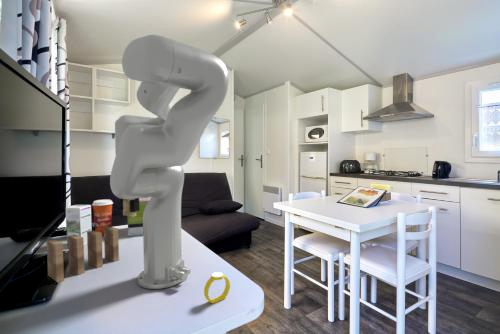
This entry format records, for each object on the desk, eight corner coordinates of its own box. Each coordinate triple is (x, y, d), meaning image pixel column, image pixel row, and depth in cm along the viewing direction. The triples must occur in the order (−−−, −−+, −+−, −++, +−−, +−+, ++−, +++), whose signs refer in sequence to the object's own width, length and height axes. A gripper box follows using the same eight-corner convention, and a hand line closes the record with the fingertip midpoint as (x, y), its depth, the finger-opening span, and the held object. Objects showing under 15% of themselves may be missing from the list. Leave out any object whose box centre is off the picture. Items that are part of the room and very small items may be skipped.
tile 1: (118, 260, 79) (118, 228, 78) (113, 261, 77) (113, 229, 77) (109, 256, 81) (108, 226, 81) (104, 258, 80) (103, 227, 79)
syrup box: (92, 241, 96) (91, 204, 95) (80, 247, 90) (79, 207, 89) (79, 241, 96) (77, 204, 96) (66, 246, 91) (65, 207, 90)
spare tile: (136, 215, 84) (135, 186, 83) (132, 216, 83) (131, 186, 82) (127, 214, 86) (126, 185, 86) (123, 215, 85) (122, 185, 85)
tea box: (132, 227, 116) (132, 195, 115) (156, 225, 119) (155, 194, 118) (127, 237, 102) (126, 200, 101) (153, 234, 105) (153, 199, 104)
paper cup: (93, 237, 101) (92, 203, 101) (92, 232, 108) (91, 200, 107) (114, 234, 105) (114, 201, 105) (113, 229, 112) (112, 198, 111)
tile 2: (102, 266, 74) (101, 232, 74) (97, 268, 73) (96, 234, 73) (93, 262, 77) (92, 230, 76) (88, 264, 75) (87, 231, 75)
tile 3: (84, 272, 70) (83, 237, 70) (78, 275, 69) (77, 239, 68) (75, 268, 73) (74, 234, 72) (69, 270, 71) (68, 236, 71)
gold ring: (224, 294, 59) (226, 269, 59) (231, 299, 57) (232, 273, 57) (201, 301, 55) (203, 274, 55) (207, 307, 53) (209, 279, 53)
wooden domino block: (63, 280, 66) (62, 242, 65) (56, 282, 64) (55, 244, 64) (55, 275, 68) (53, 239, 68) (48, 278, 67) (46, 241, 67)
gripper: (102, 156, 85) (104, 209, 86) (133, 156, 76) (135, 215, 77) (123, 156, 91) (124, 205, 92) (154, 156, 82) (155, 211, 83)
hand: (129, 209), depth 84 cm, fingers closed on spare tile, 4 cm apart
